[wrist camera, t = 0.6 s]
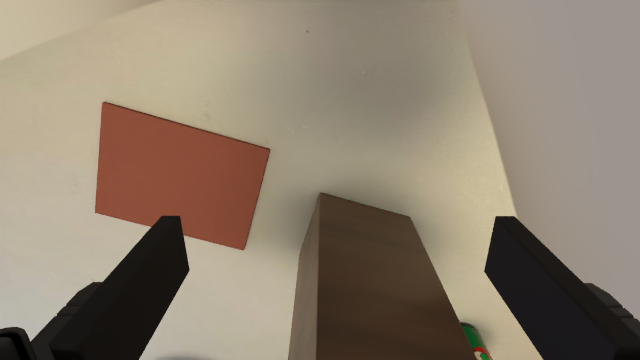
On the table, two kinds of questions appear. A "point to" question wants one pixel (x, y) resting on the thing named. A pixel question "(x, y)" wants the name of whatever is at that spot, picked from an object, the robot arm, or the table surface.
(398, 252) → the stand
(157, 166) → the mat
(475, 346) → the soda can
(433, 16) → the table surface
